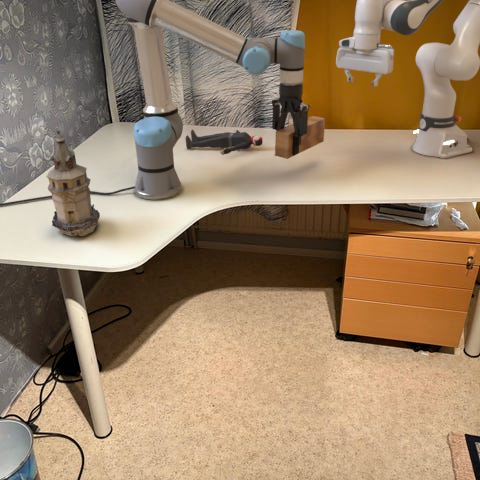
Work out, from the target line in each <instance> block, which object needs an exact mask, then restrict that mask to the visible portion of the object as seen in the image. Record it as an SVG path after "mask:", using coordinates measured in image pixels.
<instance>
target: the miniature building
mask: <svg viewBox="0 0 480 480" xmlns="http://www.w3.org/2000/svg"><path fill="white" fill-rule="evenodd" d="M56 134H57V136H56V138H55V140H54V141H55V142H56V147H55V154H54V156H52V157H51V161H52V162H53V165H54V167H53V168H51V169H50V170H49V171H48V173H47V174H46V178H47V179H48V182H49V184H48V186H47V190H48V191H49V193H50V194H51V195H52V198H51V200H52V201H53V205H54V209H55V211H53V217H52V220H51V223H52V225H51V227H54V228H56V229H58V230H59V231H60V234H63V235H64V234H65V235H66V236H69V237H77V236H80V237H83V236H87V235H88V234H90V233H93V232H94V231H95V229H96V226H97V225H98V223H99V220H100V216H101V213H100V212H99V210H98V209H96V208H95V204H92V201H91V200H92V199H91V198H92V197H91V193H90V192H91V191H92V190H91V188H90V184H91V178H89V177H88V174H87V167H85V166H84V165H83V166H82V165H80V164H77V160H76V154H75V151H74V150H70V149H69V147H68V145H67V143H66V138H65V137H64V136H63V135H61V130H60V129H56Z"/></svg>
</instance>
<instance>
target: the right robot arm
mask: <svg viewBox="0 0 480 480" xmlns="http://www.w3.org/2000/svg"><path fill="white" fill-rule="evenodd" d="M444 1H445V0H356V5H355V9H354V29H353V33H352V36H348V37H346V38H343V39H340V40H339V41H338V45H339V47H338V49H337V53H336V58H335V66H336V67H337V69H344V74H345V76H346V82H347V83H354V77H355V76H352V74H351V72H352V71H358V72H365V73H371V74H372V73H373V74H375V75H374V76H375V79H373V80H371V84H370V85H371V87H378V84H379V81H380V79H381V78H382V76H383V75H389V74H391V73H392V72H393V70H394V57H395V48H394V47H393V46H392V45H391V44H384V43H380V42H381V34H382V33H381V31H382V30H386V31H389V32H394V33H397V34H400V35H402V36H411V35H413V34H415V33H416V32H418V31H419V29H421V27H422V25H423V24H424V22H425V21H426V19H427V18H428V17H429V16H430V15H431V13H433V11H435V9H436V8H437V7H438V6H440V4H441V3H443V2H444ZM452 29H453V33H454V34H455V36H454V40H452V42H451V44H447V43H442V42H427V43H424V44H422V45H421V46H419V48H418V50H417V52H416V55H415V65H416V66H417V68H418V70H419V71H420V74H421V78H422V81H423V88H424V95H423V103H422V104H423V105H422V112H421V113H420V117H419V121H418V125H419V128H418V129H416V130H413V134H417V135H416V139H415V140H414V143H413V146H412V147H411V149H412V151H413V152H415V153H417V154H419V155H423V156H428V157H437V158H441V159H448V158H452V157H457V156H460V155H461V156H462V155H464V154H468V153H472V152H473V148H472V147H471V145H469V144H468V141H469V140H470V138H468V135H467V134H466V132H465V131H463V130H462V128H460V127H459V126H458V125H457V124H456V122H457V123H461V121H462V120H463V117H462V116H459V115H455V114H454V113H455V106H456V100H457V92H456V90H455V89H454V88H453V86H452V84H451V80H452V81H457V82H458V81H461V82H462V81H471V80H472V79H473V78H474V77H475V76H476V75H477V73H478V72H479V70H480V56H479V46H480V0H468V1H467V3H466V5H465V6H464V8H463V9H462V10H461V12H460V13H459V14H458V16H457V17H456V19H455V21H454V22H453V25H452Z"/></svg>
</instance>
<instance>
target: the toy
mask: <svg viewBox="0 0 480 480" xmlns="http://www.w3.org/2000/svg"><path fill="white" fill-rule="evenodd" d="M233 131H234V132H229V131H225V132H220V133H219V132H218V133H214V134H208V135H201V136H198V135H197V134H196V132H195V130H194V129H191V130H190V136H189V135H188V134H187V135H186V136H185V147H186V149H187V150H191V149H194V148H198V149H199V148H200V149H204V148H211V149H215V148H216V149H217V148H220V149H221V150H219V151H220V152H219V153H220V155H221V156H224V155H228V154H230V153H232V152H235V151H239V150H241V151H247V150H248V151H249V149H250V148H251V147H252V145H253V146H255V147H260V146H262V145H263V142H264V141H263V137H262V136H261V135H253V136H251V135H250V134H249V133H248V132H247V131H242V132H241V131H239V129H234V130H233ZM190 137H191V138H190Z"/></svg>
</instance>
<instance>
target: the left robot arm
mask: <svg viewBox="0 0 480 480" xmlns="http://www.w3.org/2000/svg"><path fill="white" fill-rule="evenodd" d="M114 1H115V4H116V6H117V8H118V9H119V11H120V12H121V13H122V14H123V15H124V16H126V19H127V24H129V25H130V26H131V27H132V28H133V31H134V37H135V45H136V50H137V56H138V62H139V67H140V75H141V81H142V86H143V92H144V98H145V102H146V103H145V106H143V109H142V114H143V118H142V119H139V120H138V121H136V123H135V124H134V127H133V139H134V144H135V154H136V161H137V175H136V179H135V184H134V186H130V187H126V188H122V189H121V188H120V189H118V190H115V191H111V192H101V191H95V190H94V191H93V190H90V191H91V192H90V194H94V195H102V196H110V195H115V194H119V193H122V192H126V191H130V190H134V193H135V195H136V196H137V197H138V198H141V199H143V200H148V201H161V200H168V199H171V198H174V197H176V196H178V195H179V194H180V193H181V192H182V182H181V180H180V177H179V176H178V173H177V171H176V169H175V161H174V160H175V159H174V158H175V157H174V147H175V146H176V144H177V143H178V141H179V140H180V138H181V137H182V134H183V130H184V121H183V119H182V117H181V115H180V113H179V107H178V104H176V103H175V102H174V101H173V97H172V90H171V82H170V76H169V68H168V62H167V61H168V60H167V55H166V49H165V40H164V33H163V30H165V31H167V32H169V33H172V34H174V35H176V36H178V37H180V38H182V39H184V40H186V41H189V42H190V43H192V44H194V45H197V46H198V47H201V48H203V49H204V50H207V51H209V52H211V53H213V54H216V55H217V56H219V57H221V58H224V59H226V60H228V61H231V62H232V63H235V65H236V64H237V65H238V66H240V67H242V68H244V70H245V71H246V72H247V73H248V74H250V75H253V76H259V75H262V74H263V73H264V72H266V71H267V69H268V68H269V67H270V65H271V64H279V76H278V78H279V79H278V80H279V82H280V83H279V84H278V95H279V97H278V98H273V99H272V100H271V105H272V121H271V122H272V124H271V125H272V126H271V128H272V130H275V132H276V131H278V130H281V129H283V128H285V127H286V126H285V125H286V122H287V118H288V114H289V113H290V117H291V118H292V125H294V131H295V136H293V153H292V155H293V157H294V156H296V155H299V154H300V153H299V145H301V137H302V136H303V135H305V134H307V123H308V118H309V110H310V107H311V105H309V104H306V103H304V101H303V99H302V98H303V94H304V93H303V92H304V84H303V83H304V70H305V69H304V67H305V51H306V34H305V33H304V31H302V30H299V29H298V30H297V29H291V30H290V29H289V30H287V29H286V30H283V31H281V32H280V35H279V37H254V36H252V37H245V36H242V35H241V34H238V33H237V32H235V31H232V30H230V29H229V28H227V27H225V26H223V25H220V24H218V23H216V22H214V21H212V20H210V19H208V18H206V17H203V16H201V15H199V14H198V13H195V12H193V11H192V10H189V9H187V8H185V7H183V6H181V5H180V4H178V3H175V2H173V1H171V0H114ZM45 199H46V200H47V199H52V194H51V195H46V196H39V197H38V196H37V197H33V198H25V199H19V200H14V201H9V202H1V203H0V207H3V206H8V205H15V204H20V203H21V204H22V203H27V202H33V201H39V200H40V201H41V200H45Z"/></svg>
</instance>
